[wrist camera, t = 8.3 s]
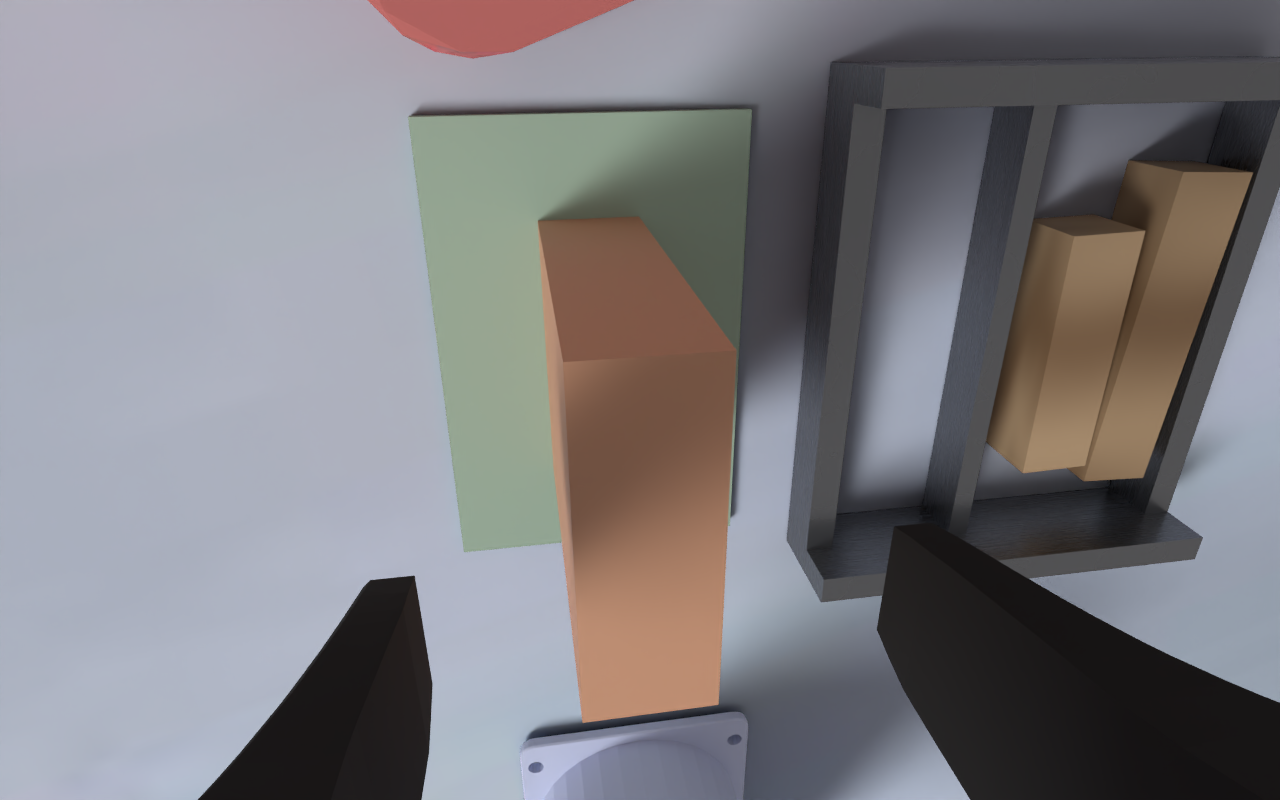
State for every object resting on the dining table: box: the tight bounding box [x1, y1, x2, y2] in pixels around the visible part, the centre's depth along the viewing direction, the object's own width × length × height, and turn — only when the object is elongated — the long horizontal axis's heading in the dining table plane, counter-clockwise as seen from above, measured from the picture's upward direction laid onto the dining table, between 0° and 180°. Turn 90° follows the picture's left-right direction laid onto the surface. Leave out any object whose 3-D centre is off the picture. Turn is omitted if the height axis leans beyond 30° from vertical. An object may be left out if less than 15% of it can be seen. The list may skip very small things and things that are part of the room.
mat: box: [408, 108, 752, 552], centre depth 21 cm, size 12×8×1 cm, turn 1°
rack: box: [787, 57, 1280, 602], centre depth 21 cm, size 14×12×3 cm
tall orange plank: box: [538, 216, 737, 723], centre depth 16 cm, size 7×2×9 cm, turn 1°
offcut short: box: [986, 214, 1145, 473], centre depth 22 cm, size 7×2×2 cm, turn 2°
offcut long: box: [1067, 160, 1253, 481], centre depth 22 cm, size 9×2×2 cm, turn 178°
